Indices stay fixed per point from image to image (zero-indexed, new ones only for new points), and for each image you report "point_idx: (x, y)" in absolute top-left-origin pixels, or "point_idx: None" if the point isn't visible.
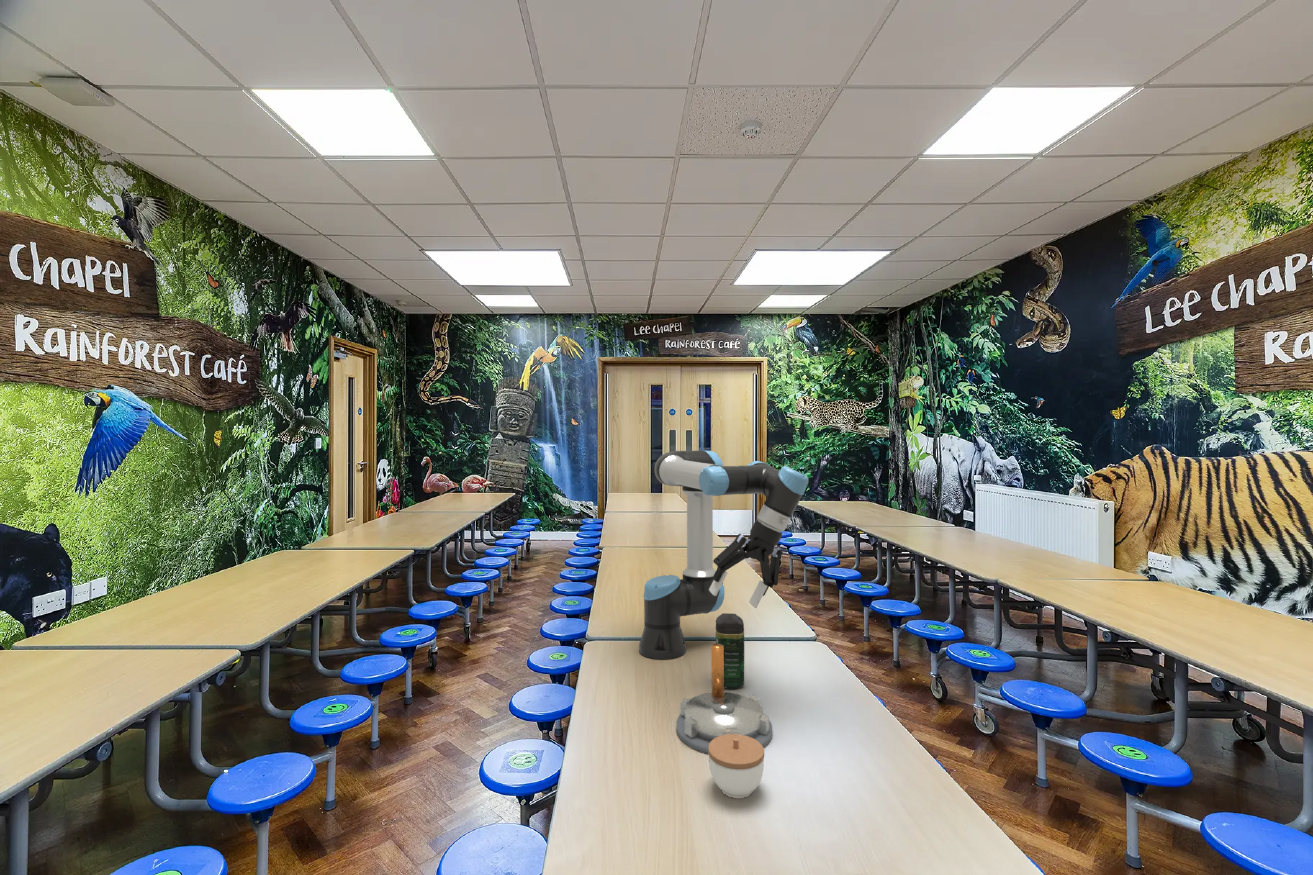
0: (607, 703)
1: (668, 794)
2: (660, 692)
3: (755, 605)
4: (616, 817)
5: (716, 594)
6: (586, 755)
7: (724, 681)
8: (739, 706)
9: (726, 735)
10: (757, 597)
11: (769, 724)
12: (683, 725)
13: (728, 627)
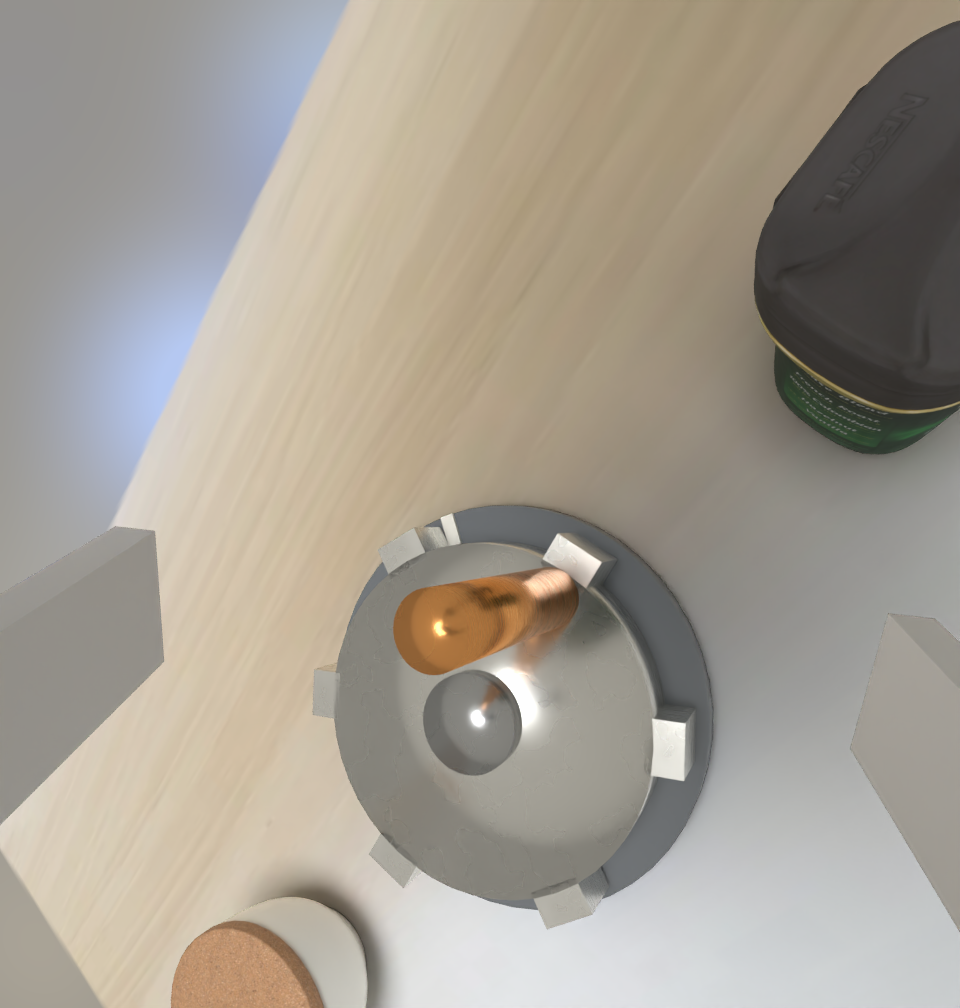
0: (307, 255)
1: (194, 823)
2: (510, 267)
3: (868, 769)
4: (86, 794)
5: (148, 672)
6: (136, 527)
7: (785, 401)
8: (549, 752)
9: (263, 956)
10: (925, 827)
11: (651, 852)
12: None
13: (805, 342)
